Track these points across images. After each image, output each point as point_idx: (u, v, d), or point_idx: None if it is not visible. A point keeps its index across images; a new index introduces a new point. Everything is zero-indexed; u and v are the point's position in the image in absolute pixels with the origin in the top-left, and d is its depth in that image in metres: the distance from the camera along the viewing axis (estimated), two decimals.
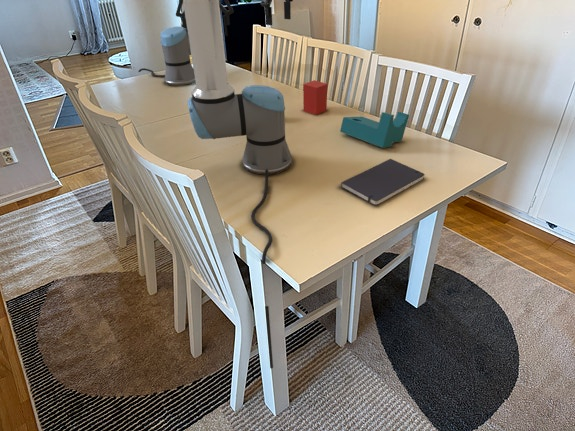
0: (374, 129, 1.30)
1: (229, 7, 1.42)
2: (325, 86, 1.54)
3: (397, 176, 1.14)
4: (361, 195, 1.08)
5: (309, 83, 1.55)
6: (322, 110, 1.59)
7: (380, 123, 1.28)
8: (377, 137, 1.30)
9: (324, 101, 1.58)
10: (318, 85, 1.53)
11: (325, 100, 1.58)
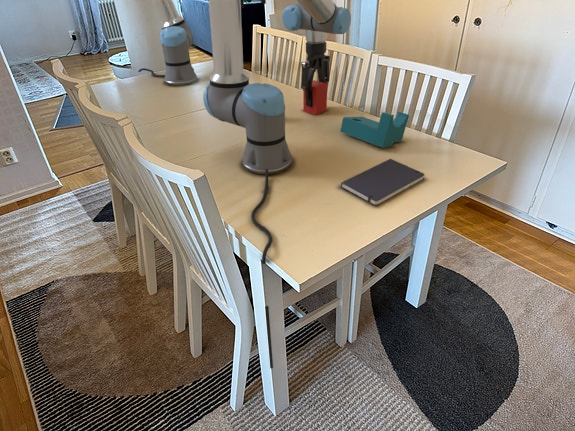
0: (374, 129, 1.30)
1: (328, 76, 1.56)
2: (325, 86, 1.54)
3: (397, 176, 1.14)
4: (361, 195, 1.08)
5: None
6: (322, 110, 1.59)
7: (380, 123, 1.28)
8: (377, 137, 1.30)
9: (324, 101, 1.58)
10: (318, 85, 1.53)
11: (325, 100, 1.58)
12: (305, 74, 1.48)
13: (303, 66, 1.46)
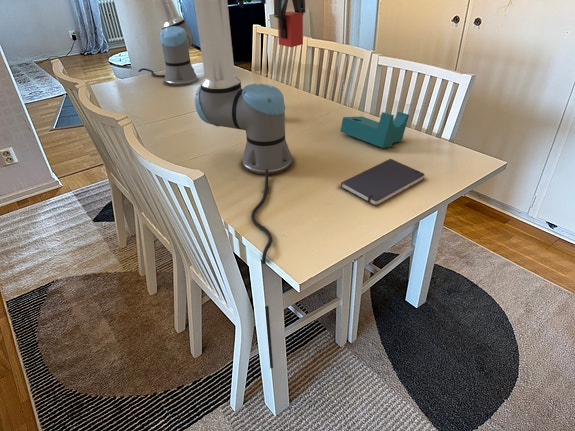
0: (374, 129, 1.30)
1: (303, 6, 1.49)
2: (300, 16, 1.46)
3: (397, 176, 1.14)
4: (361, 195, 1.08)
5: None
6: (298, 43, 1.51)
7: (380, 123, 1.28)
8: (377, 137, 1.30)
9: (300, 33, 1.50)
10: (292, 14, 1.46)
11: (301, 32, 1.50)
12: (278, 0, 1.40)
13: None
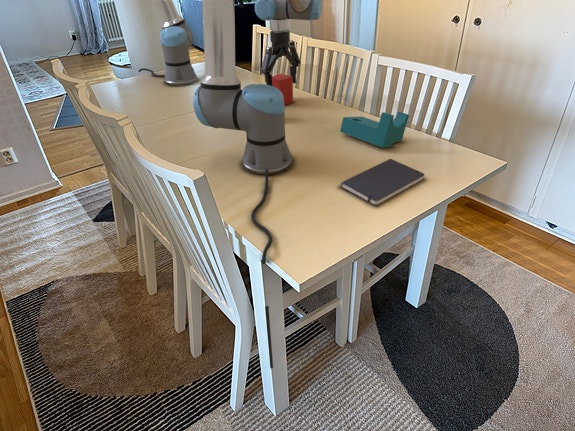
0: (374, 129, 1.30)
1: (298, 59, 1.64)
2: (290, 79, 1.63)
3: (397, 176, 1.14)
4: (361, 195, 1.08)
5: (275, 76, 1.64)
6: (288, 102, 1.67)
7: (380, 123, 1.28)
8: (377, 137, 1.30)
9: (290, 93, 1.66)
10: (283, 77, 1.62)
11: (291, 92, 1.66)
12: (267, 58, 1.53)
13: (267, 50, 1.53)
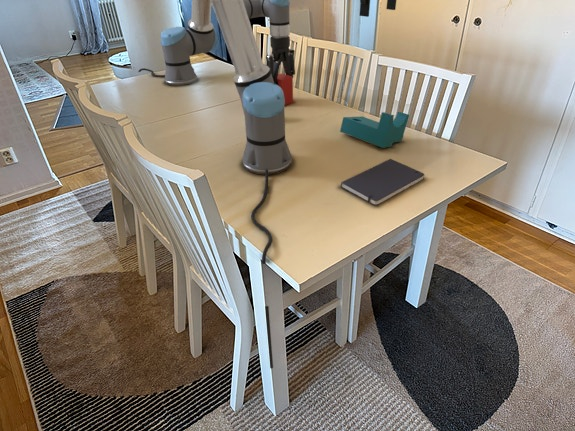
0: (374, 129, 1.30)
1: None
2: (290, 79, 1.63)
3: (397, 176, 1.14)
4: (361, 195, 1.08)
5: None
6: (288, 102, 1.67)
7: (380, 123, 1.28)
8: (377, 137, 1.30)
9: (290, 93, 1.66)
10: (283, 77, 1.62)
11: (291, 92, 1.66)
12: None
13: None
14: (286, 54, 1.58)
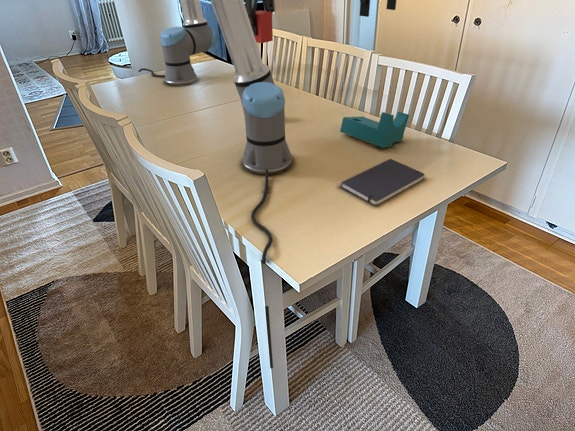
0: (374, 129, 1.30)
1: None
2: (269, 14, 1.61)
3: (397, 176, 1.14)
4: (361, 195, 1.08)
5: None
6: (268, 39, 1.66)
7: (380, 123, 1.28)
8: (377, 137, 1.30)
9: (270, 30, 1.65)
10: (262, 13, 1.60)
11: (270, 29, 1.64)
12: None
13: None
14: None
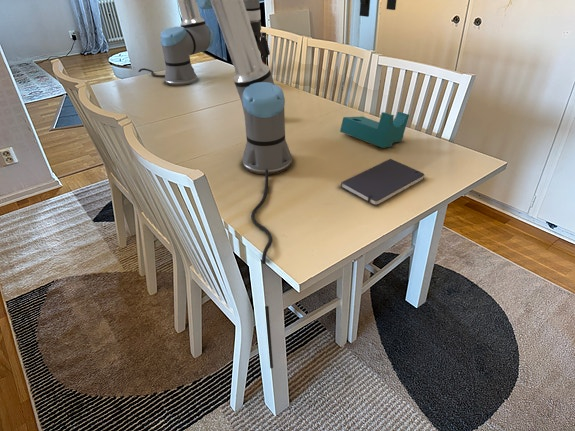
0: (374, 129, 1.30)
1: None
2: None
3: (397, 176, 1.14)
4: (361, 195, 1.08)
5: None
6: None
7: (380, 123, 1.28)
8: (377, 137, 1.30)
9: None
10: None
11: None
12: None
13: None
14: (258, 37, 1.74)
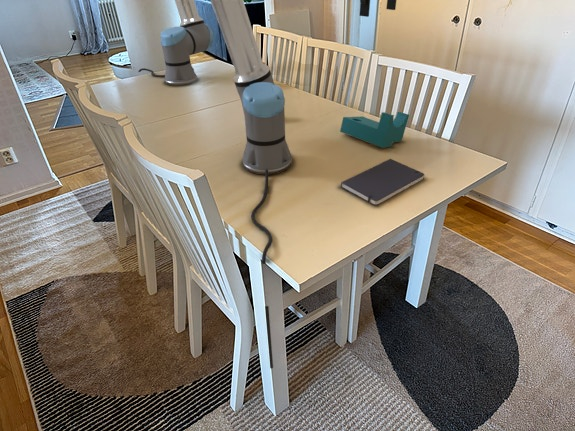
0: (374, 129, 1.30)
1: None
2: None
3: (397, 176, 1.14)
4: (361, 195, 1.08)
5: None
6: None
7: (380, 123, 1.28)
8: (377, 137, 1.30)
9: None
10: None
11: None
12: None
13: None
14: None
